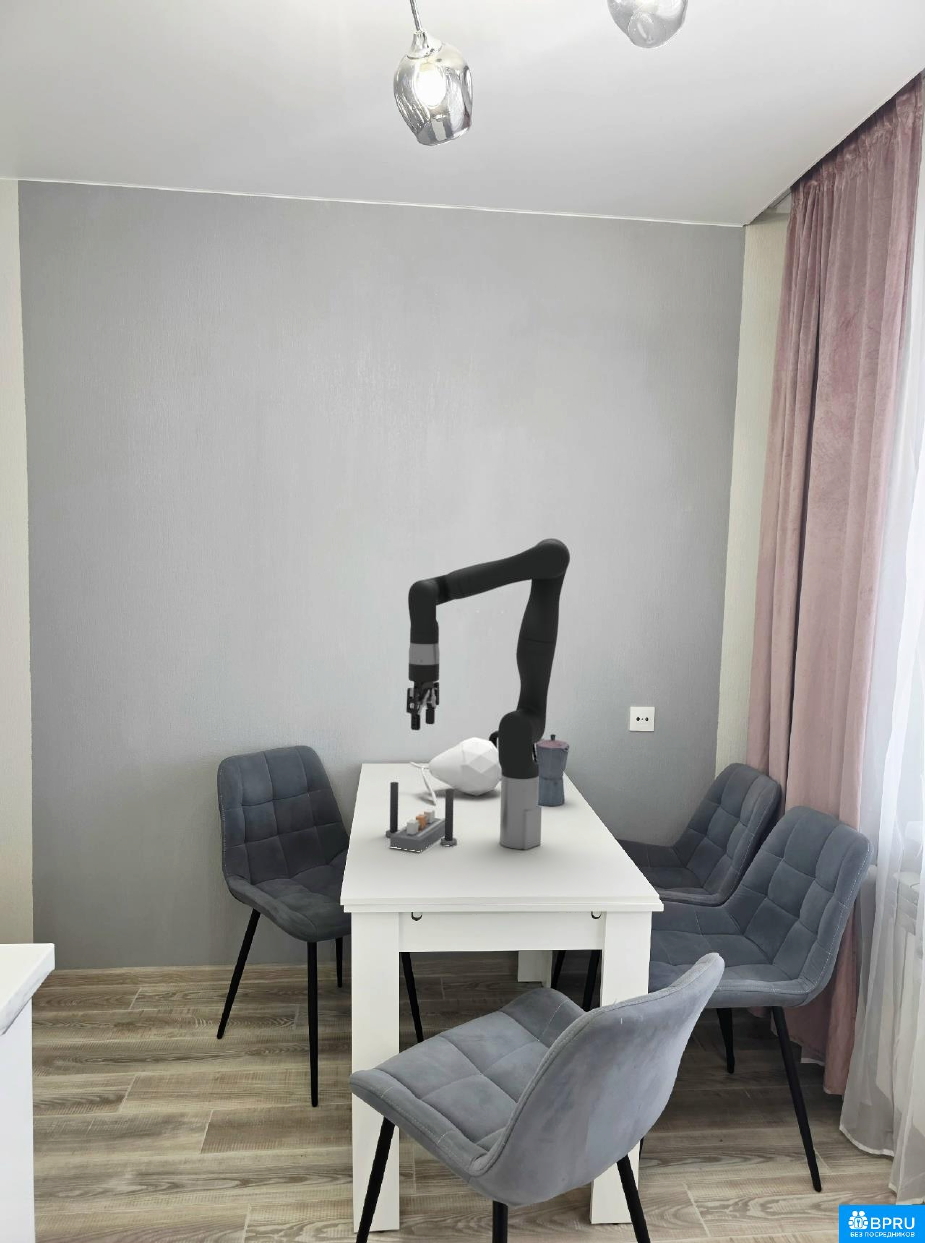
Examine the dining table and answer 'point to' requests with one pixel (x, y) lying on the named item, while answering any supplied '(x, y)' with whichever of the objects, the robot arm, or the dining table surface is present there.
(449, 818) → the dark grey cylinder
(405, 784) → the dining table surface
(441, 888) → the dining table surface
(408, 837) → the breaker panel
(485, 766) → the pear ornament
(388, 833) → the dark grey lever handle
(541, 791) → the moka pot
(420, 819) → the white and orange bar
